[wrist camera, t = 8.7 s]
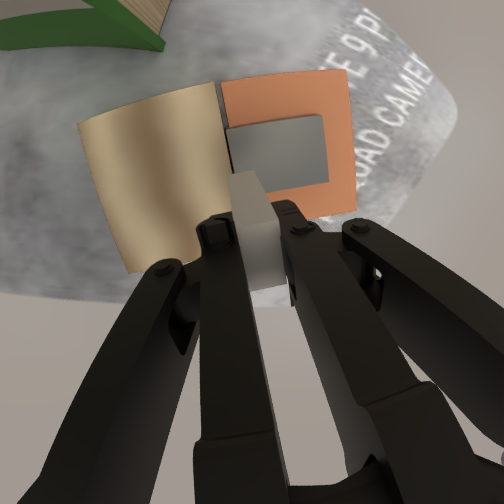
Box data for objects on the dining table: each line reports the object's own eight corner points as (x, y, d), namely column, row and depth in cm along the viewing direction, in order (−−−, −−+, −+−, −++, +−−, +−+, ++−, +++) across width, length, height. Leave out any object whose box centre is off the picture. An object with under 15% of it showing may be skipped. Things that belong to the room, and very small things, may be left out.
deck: (138, 251, 29) (128, 273, 26) (95, 118, 22) (76, 123, 18) (243, 229, 29) (247, 250, 26) (214, 84, 22) (213, 81, 19)
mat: (248, 228, 29) (249, 230, 29) (220, 82, 22) (220, 82, 22) (355, 209, 29) (356, 210, 29) (344, 69, 22) (345, 69, 22)
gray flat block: (238, 192, 27) (239, 198, 25) (225, 128, 24) (225, 130, 22) (323, 177, 27) (329, 181, 25) (316, 113, 24) (322, 115, 22)
